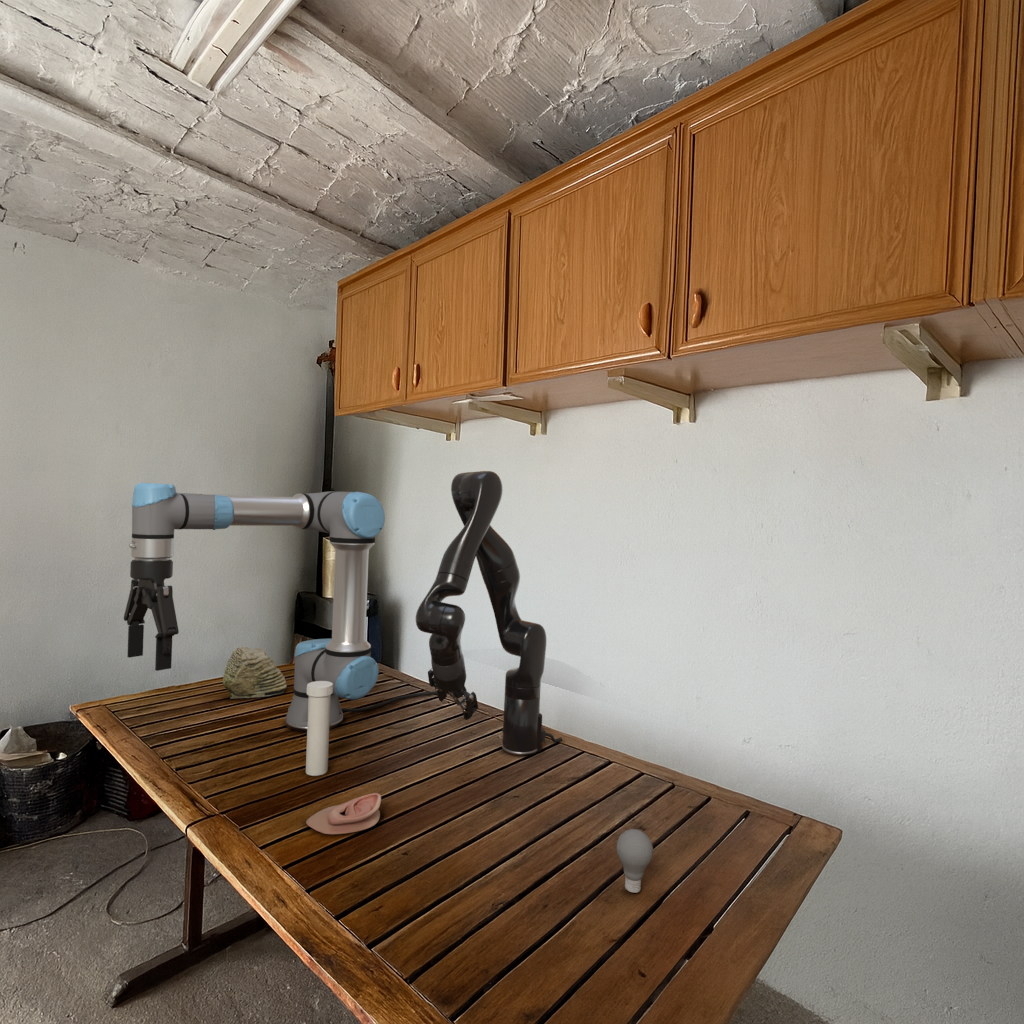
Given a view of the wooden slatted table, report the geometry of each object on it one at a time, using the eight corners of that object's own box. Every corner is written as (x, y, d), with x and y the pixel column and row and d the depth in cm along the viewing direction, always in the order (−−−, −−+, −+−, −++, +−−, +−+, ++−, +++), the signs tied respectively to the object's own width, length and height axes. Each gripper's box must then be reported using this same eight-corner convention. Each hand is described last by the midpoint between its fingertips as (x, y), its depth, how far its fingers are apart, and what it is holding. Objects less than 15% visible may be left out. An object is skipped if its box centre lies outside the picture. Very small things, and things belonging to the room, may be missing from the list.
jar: (303, 775, 143) (306, 689, 143) (308, 766, 148) (311, 683, 148) (325, 775, 144) (328, 689, 143) (329, 766, 149) (332, 683, 148)
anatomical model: (298, 809, 120) (327, 783, 131) (297, 830, 120) (327, 802, 131) (363, 819, 117) (388, 791, 128) (362, 840, 117) (387, 811, 128)
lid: (303, 697, 142) (304, 687, 142) (309, 689, 148) (310, 680, 148) (330, 697, 143) (330, 688, 143) (334, 689, 149) (335, 681, 149)
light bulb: (610, 879, 108) (613, 822, 108) (644, 879, 109) (647, 822, 109) (619, 902, 102) (622, 840, 102) (655, 901, 103) (658, 840, 103)
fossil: (218, 695, 195) (220, 647, 195) (278, 685, 208) (279, 640, 207) (228, 703, 189) (230, 653, 188) (289, 692, 201) (290, 645, 201)
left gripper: (108, 554, 134) (104, 654, 134) (159, 565, 118) (155, 678, 119) (146, 552, 140) (143, 648, 140) (199, 563, 124) (195, 671, 124)
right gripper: (482, 671, 145) (486, 712, 155) (438, 641, 153) (445, 683, 163) (459, 693, 141) (466, 734, 151) (415, 661, 148) (424, 702, 158)
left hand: (148, 662), depth 129 cm, fingers open, 13 cm apart
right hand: (455, 707), depth 157 cm, fingers open, 8 cm apart
